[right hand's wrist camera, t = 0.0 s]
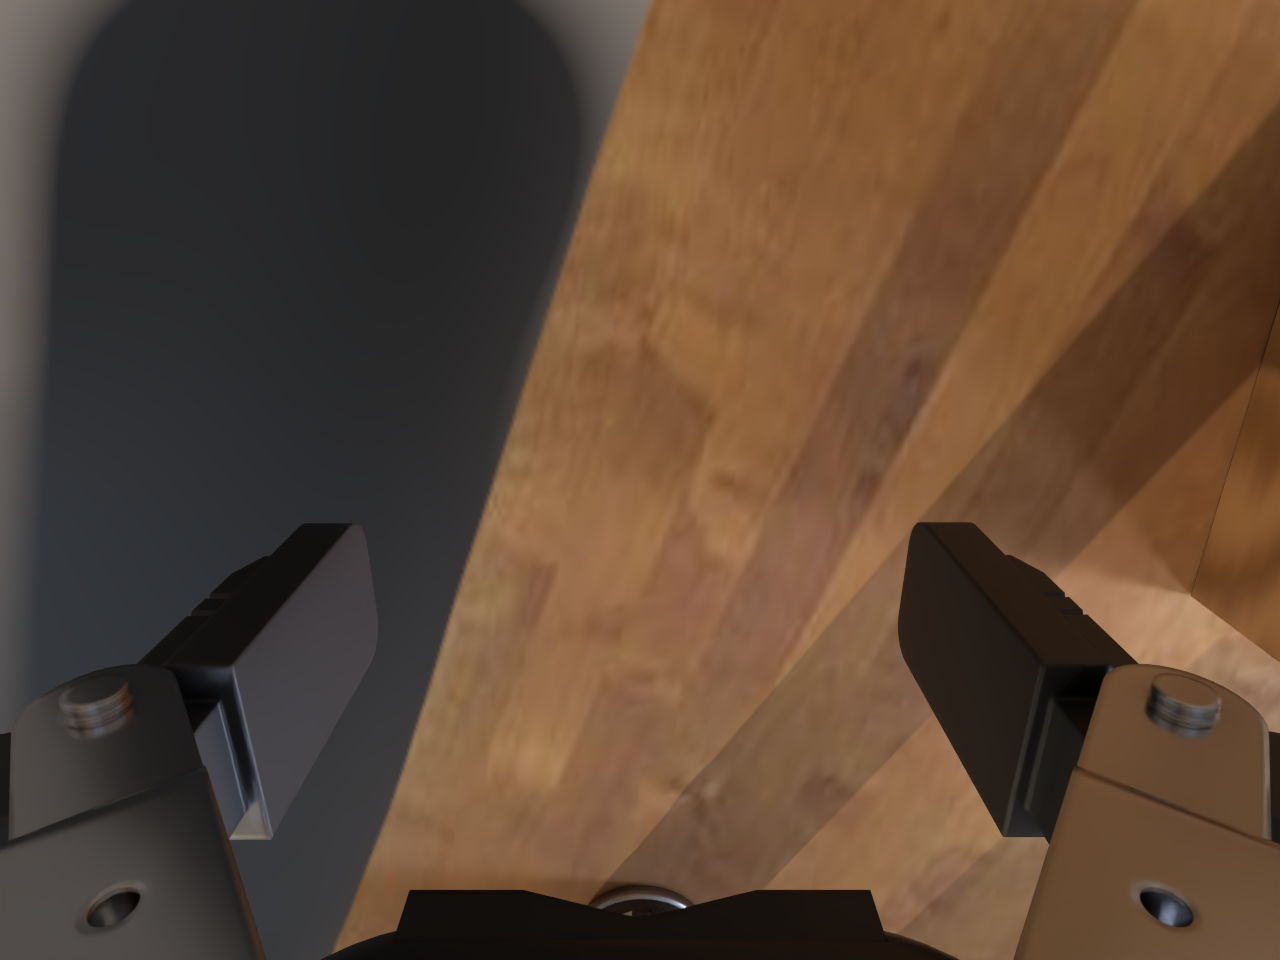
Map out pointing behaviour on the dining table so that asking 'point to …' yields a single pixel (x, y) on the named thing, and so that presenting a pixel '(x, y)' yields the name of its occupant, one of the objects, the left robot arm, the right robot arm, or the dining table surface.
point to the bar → (1250, 520)
